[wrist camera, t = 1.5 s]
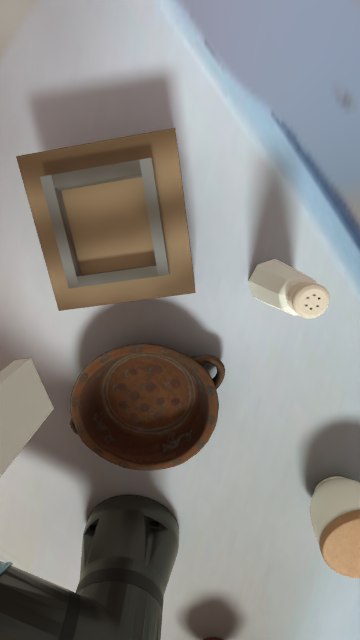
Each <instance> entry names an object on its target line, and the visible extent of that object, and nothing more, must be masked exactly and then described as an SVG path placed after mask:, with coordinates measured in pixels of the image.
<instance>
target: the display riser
mask: <svg viewBox="0 0 360 640" xmlns="http://www.w3.org/2000/svg"><path fill="white" fill-rule="evenodd" d="M16 157H17V161H18V165H19V168H20V172H21V175H22V179H23V183H24V186H25V190H26V194H27V197H28V201H29V204H30V208H31V212H32V215H33V219H34V222H35V226H36V230H37V233H38V237H39V241H40V244H41V248H42V251H43V255H44V259H45V262H46V266H47V270H48V273H49V277H50V280H51V284H52V288H53V291H54V295H55V298H56V302H57V306H58V309H59V311H61V310H68V309H76V308H84V307H91V306H99V305H106V304H114V303H122V302H129V301H137V300H145V299H152V298H160V297H168V296H175V295H183V294H190V293H195V283H194V275H193V267H192V259H191V251H190V243H189V235H188V227H187V219H186V211H185V203H184V195H183V187H182V179H181V171H180V163H179V155H178V147H177V140H176V132H175V128H172V129H166V130H161V131H155V132H149V133H144V134H138V135H133V136H127V137H122V138H116V139H110V140H105V141H99V142H94V143H88V144H83V145H77V146H72V147H66V148H60V149H55V150H49V151H44V152H38V153H33V154H27V155H22V156H16Z"/></svg>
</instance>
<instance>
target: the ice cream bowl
mask: <svg viewBox="0 0 360 640" xmlns="http://www.w3.org/2000/svg"><path fill="white" fill-rule="evenodd" d="M205 640H222V639H220V638H207V639H205Z"/></svg>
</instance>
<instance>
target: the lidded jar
mask: <svg viewBox="0 0 360 640" xmlns="http://www.w3.org/2000/svg"><path fill="white" fill-rule="evenodd" d="M310 518H311V523H312V527H313V530H314V533H315V536H316V539H317V542H318V544H319V546H320V550H321V553H322V556H323V558H324V560H325V562H326V563H327V565H328V566H329V567H330V568H332V569H333V570H334V571H336V572H337V573H339V574H342V575H344V576H348V577H352V578H360V482H358V481H355V480H351V479H348V478H346V477H342V476H332V477H328V478H326V479H324V480H322V481H321V482H319V483H318V484H317V486H316V487H315V490H314V494H313V496H312V498H311V502H310Z"/></svg>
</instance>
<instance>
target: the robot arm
mask: <svg viewBox="0 0 360 640" xmlns="http://www.w3.org/2000/svg"><path fill="white" fill-rule="evenodd" d="M53 409H54V408H53V406H52V403H51V401H50V399H49V397H48V395H47V392H46V390H45V388H44V386H43V384H42V382H41V379H40V377H39V375H38V373H37V371H36V368H35V366H34V364H33V362H32V360H31V358H27V359H19V360H14V361H13V362H12V363H11V364H9V365H8V366H7V367H5V368H4V369H3V370H2V371H0V477H1V476H2V474H3V473H4V472H5V471H6V469H7V468H8V467H9V465H10V464H11V463H12V462H13V460H14V459H15V458H16V456H17V455H18V454H19V453H20V451H21V450H22V449H23V448H24V446H25V445H26V444H27V442H28V441H29V440H30V439H31V437H32V436H33V435H34V433H35V432H36V431H37V430H38V428H39V427H40V426H41V425H42V423H43V422H44V421H45V419H46V418H47V417H48V416H49V414H50V413H51V412H52V410H53ZM178 546H179V528H178V524H177V522H176V520H175V518H174V516H173V515H172V514H171V513H170V512H169V511H168V510H167V509H166V508H165V507H164V506H162V505H161V504H159V503H157V502H155V501H153V500H150V499H148V498H144V497H139V496H118V497H113V498H110V499H108V500H105V501H104V502H102V503H100V504H99V505H98V506H97V507H95V509H94V510H93V511H92V512H91V514H90V516H89V519H88V522H87V524H86V527H85V530H84V534H83V542H82V557H81V571H80V581H79V584H78V587H77V590H76V593H74V592H72V591H70V590H68V589H65V588H63V587H61V586H58V585H56V584H53V583H51V582H49V581H46V580H44V579H42V578H39V577H37V576H34V575H32V574H30V573H27V572H25V571H23V570H20V569H18V568H15V567H13V566H11V565H12V563H11V562H7V563H4V562H1V561H0V640H160V638H161V624H162V609H163V597H164V593H165V590H166V587H167V584H168V581H169V578H170V575H171V571H172V568H173V565H174V562H175V559H176V556H177V553H178Z"/></svg>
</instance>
